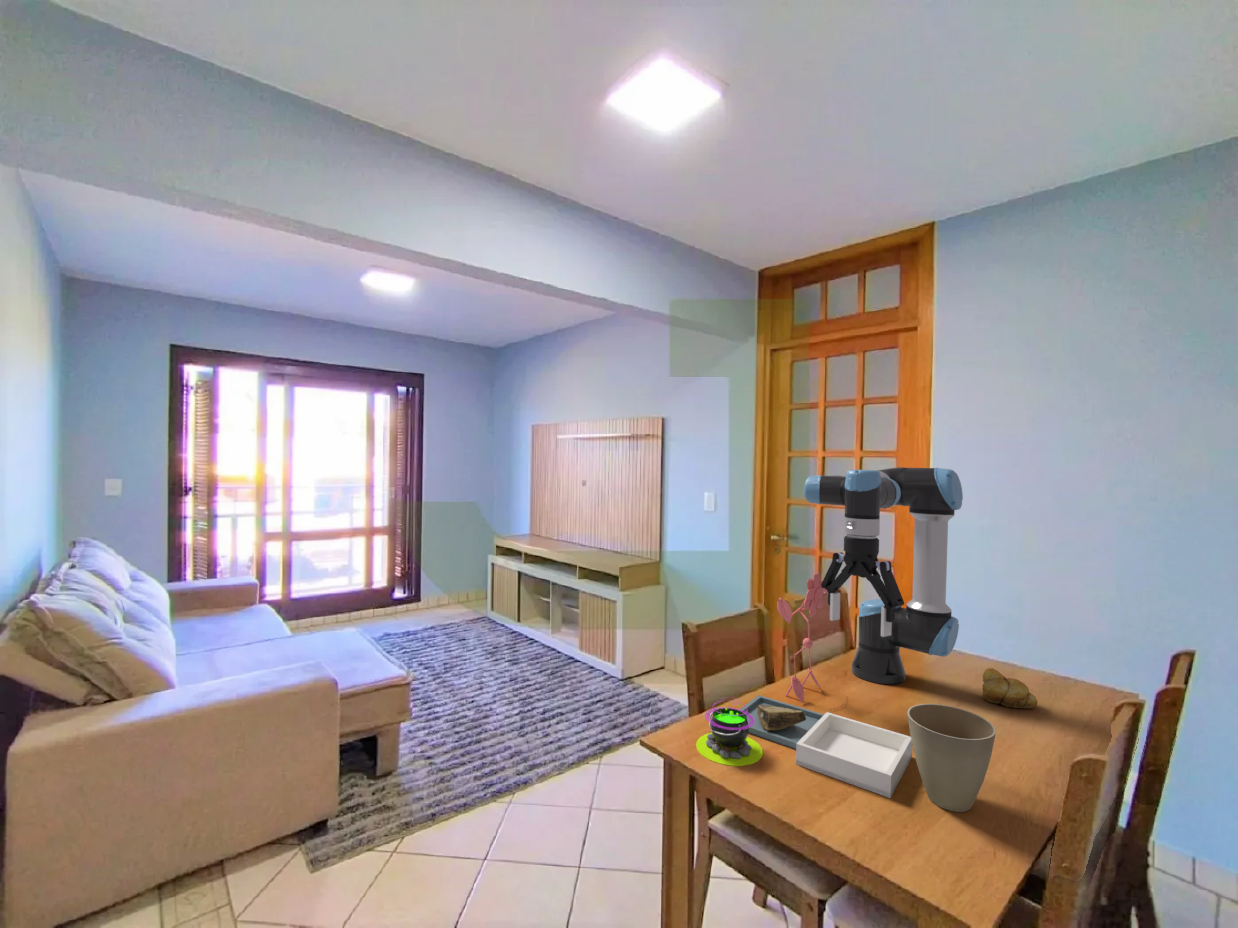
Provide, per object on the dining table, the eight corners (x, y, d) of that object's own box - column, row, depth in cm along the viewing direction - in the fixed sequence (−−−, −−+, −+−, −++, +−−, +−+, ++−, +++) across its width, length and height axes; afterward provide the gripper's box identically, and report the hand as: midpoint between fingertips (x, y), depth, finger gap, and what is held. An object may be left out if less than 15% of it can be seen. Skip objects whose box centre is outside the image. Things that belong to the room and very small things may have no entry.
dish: (826, 730, 138) (826, 711, 138) (911, 756, 126) (912, 737, 126) (795, 763, 122) (796, 743, 122) (890, 798, 110) (891, 775, 110)
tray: (758, 700, 154) (758, 694, 154) (828, 721, 142) (828, 715, 142) (726, 725, 139) (726, 719, 139) (801, 751, 127) (801, 744, 127)
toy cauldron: (684, 738, 133) (685, 692, 133) (739, 728, 138) (740, 684, 138) (717, 771, 119) (718, 720, 119) (776, 759, 124) (777, 710, 124)
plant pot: (915, 770, 120) (917, 696, 120) (998, 798, 111) (1000, 718, 111) (896, 802, 109) (898, 720, 109) (987, 836, 99) (990, 747, 99)
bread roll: (1039, 705, 154) (1040, 676, 154) (1033, 717, 147) (1034, 686, 147) (984, 691, 163) (985, 664, 163) (976, 701, 156) (977, 673, 156)
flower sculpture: (767, 703, 152) (770, 575, 152) (811, 678, 170) (813, 563, 170) (822, 723, 141) (825, 585, 141) (862, 694, 160) (865, 571, 159)
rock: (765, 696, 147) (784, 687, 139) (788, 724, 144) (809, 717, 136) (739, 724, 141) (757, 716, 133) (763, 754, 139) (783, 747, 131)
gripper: (807, 530, 139) (805, 615, 139) (902, 544, 117) (899, 645, 118) (827, 528, 143) (826, 611, 143) (923, 542, 121) (920, 640, 121)
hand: (859, 627), depth 130 cm, fingers open, 13 cm apart
